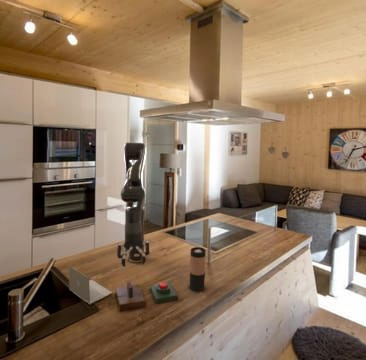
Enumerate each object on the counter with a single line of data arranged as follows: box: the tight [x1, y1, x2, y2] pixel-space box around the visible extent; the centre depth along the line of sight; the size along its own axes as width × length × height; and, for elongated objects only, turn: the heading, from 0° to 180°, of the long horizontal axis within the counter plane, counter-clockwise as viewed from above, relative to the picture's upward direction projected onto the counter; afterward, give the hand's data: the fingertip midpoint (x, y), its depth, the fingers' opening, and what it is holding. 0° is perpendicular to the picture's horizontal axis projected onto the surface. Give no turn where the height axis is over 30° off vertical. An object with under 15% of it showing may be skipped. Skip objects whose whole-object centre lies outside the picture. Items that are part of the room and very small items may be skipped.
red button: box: [159, 281, 168, 289], centre depth 134 cm, size 4×4×2 cm
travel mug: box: [189, 246, 207, 292], centre depth 140 cm, size 8×8×20 cm
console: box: [115, 284, 146, 312], centre depth 130 cm, size 14×11×3 cm
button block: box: [149, 282, 178, 304], centre depth 135 cm, size 12×10×4 cm
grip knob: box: [126, 281, 133, 298], centre depth 129 cm, size 6×2×5 cm, turn 19°
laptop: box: [68, 265, 113, 305], centre depth 135 cm, size 18×13×13 cm
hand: (133, 264), depth 127 cm, fingers open, 8 cm apart
